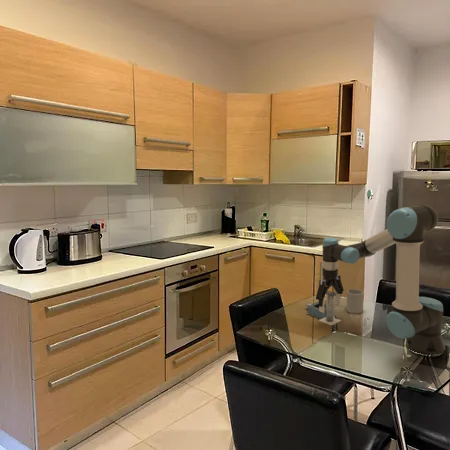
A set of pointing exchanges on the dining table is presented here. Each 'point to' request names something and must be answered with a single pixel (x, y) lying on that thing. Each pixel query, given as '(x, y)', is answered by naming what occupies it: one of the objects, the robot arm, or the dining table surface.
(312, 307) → the grey-blue open box
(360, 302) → the mug
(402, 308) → the robot arm
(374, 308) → the dining table surface
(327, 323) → the mat
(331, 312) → the key
